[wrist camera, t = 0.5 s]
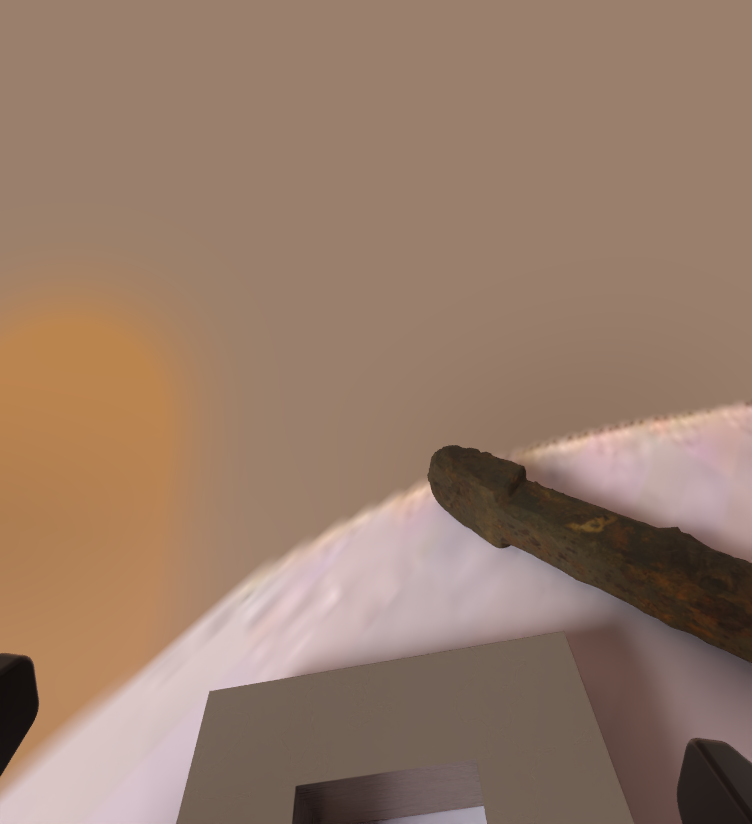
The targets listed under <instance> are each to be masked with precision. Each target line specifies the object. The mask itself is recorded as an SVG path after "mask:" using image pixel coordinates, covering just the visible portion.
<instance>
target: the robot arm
mask: <svg viewBox="0 0 752 824" xmlns="http://www.w3.org/2000/svg"><path fill="white" fill-rule="evenodd" d="M38 707H39V698H38V691H37V684H36V677H35V670H34V664H33V661H32V660H31V659H30V657H28V656H25V655H17V654H10V653H1V654H0V776H1V775H2V773H3V771H4V770H5V768H6V767H7V765H8V763H9V762H10V760H11V758H12V756H13V755H14V753H15V752H16V750H17V748H18V747H19V745H20V744H21V742H22V740H23V739H24V737H25V735H26V734H27V732H28V730H29V729H30V727H31V726H32V724H33V722H34V720H35V718H36V715H37V712H38ZM677 802H678V808H679V812H680V816H681V820H682V823H683V824H752V763H750V762H749V761H748V760H747V759H746V758H745V757H743V756H742V755H741V754H740V753H739V752H738V751H736V750H735V749H734V748H733V747H731V746H730V745H729V744H727V743H725V742H722V741H716V740H708V739H700V738H694V739H691V740H690V741H689V742H688V744H687V747H686V750H685V755H684V759H683V764H682V768H681V773H680V777H679V781H678V786H677Z"/></svg>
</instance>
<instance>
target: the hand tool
mask: <svg viewBox="0 0 752 824" xmlns="http://www.w3.org/2000/svg"><path fill="white" fill-rule="evenodd" d="M428 481H429V482H430V486H431V490H432V493H433V495H434V497H435V498H436V500H437V501H438V503H439V504H440V505H441V506H442V507H443V508H444V509H445V510H446V511H447V512H449V513H450V514H451V515H452V516H453V517H454V518H455V519H456V520H458V521H459V522H460V523H461V524H463V525H464V526H466V527H468V528H470V529H472V530H473V531H474V532H475V533H477V534H478V535H479V536H481V537H482V538H483V539H485V540H486V541H488V542H489V543H490V544H492V545H493V546H495V547H497V548H506V547H509V546H510V545H512V546H515V547H517V548H519V549H522V550H524V551H526V552H528V553H530V554H532V555H534V556H536V557H537V558H539V559H541V560H543V561H545V562H547V563H549V564H550V565H552V566H554V567H556V568H558V569H560V570H562V571H563V572H565V573H566V574H568V575H570V576H571V577H573V578H575V579H576V580H578V581H581V582H584V583H586V584H589V585H592V586H595V587H597V588H599V589H601V590H603V591H605V592H607V593H609V594H611V595H613V596H615V597H617V598H619V599H621V600H623V601H625V602H627V603H629V604H631V605H633V606H635V607H636V608H638V609H639V610H641V611H642V612H644V613H646V614H648V615H650V616H652V617H655V618H658V619H659V620H661V621H662V622H664V623H665V624H667V625H669V626H670V627H672V628H675V629H678V630H681V631H684V632H687V633H690V634H692V635H694V636H697V637H698V638H700V639H702V640H703V641H705V642H706V643H709V644H711V645H713V646H716V647H718V648H721V649H723V650H726V651H728V652H730V653H732V654H734V655H736V656H738V657H740V658H742V659H744V660H746V661H748V662H750V663H752V563H749V562H747V561H745V560H742V559H739V558H734V557H732V556H730V555H727V554H725V553H722V552H719V551H716V550H714V549H711V548H710V547H708V546H706V545H705V544H703V543H701V542H700V541H698V540H697V539H695V538H694V537H692V536H691V535H690V534H686V533H683V532H681V531H680V529H679V528H678V527H671V528H656V527H653V526H650V525H648V524H646V523H643V522H640V521H636V520H633V519H631V518H628V517H625V516H623V515H620V514H617V513H614V512H611V511H609V510H607V509H604V508H601V507H598V506H596V505H593V504H590V503H587V502H584V501H582V500H579V499H576V498H573V497H570V496H567V495H565V494H564V493H560V492H557V491H555V490H553V489H549V488H545V487H543V486H541V485H540V484H539V483H538V482H536V481H535V482H531V481H528V480H527V479H526V470H525V468H524V466H521V465H518V464H516V463H514V462H512V461H509V460H504V459H500V458H497V457H495V456H492V455H491V454H490V453H488V452H482V453H480V451H479V450H478V449H474V448H467V449H466V448H462V447H460V446H457V445H455V446H453V445H452V446H446V447H443V448H442V449H439V450H438V451H437V452H435V453H434V455H433V456H432V458H431V463H430V468H429V473H428Z"/></svg>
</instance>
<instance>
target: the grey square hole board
mask: <svg viewBox="0 0 752 824" xmlns="http://www.w3.org/2000/svg"><path fill="white" fill-rule="evenodd" d="M477 806H484V808H485V814H486V820H487V824H634V821H633V819H632V816H631V813H630V810H629V808H628V805H627V802H626V799H625V797H624V794H623V791H622V788H621V786H620V783H619V780H618V778H617V775H616V772H615V769H614V767H613V764H612V761H611V758H610V756H609V753H608V750H607V747H606V745H605V742H604V739H603V737H602V734H601V731H600V728H599V726H598V723H597V720H596V717H595V715H594V712H593V709H592V706H591V704H590V701H589V698H588V696H587V693H586V690H585V687H584V685H583V682H582V679H581V676H580V674H579V671H578V668H577V665H576V663H575V660H574V657H573V654H572V652H571V649H570V646H569V644H568V641H567V638H566V635H565V633H564V631H563V632H557V633H551V634H545V635H539V636H533V637H527V638H521V639H515V640H509V641H504V642H498V643H492V644H486V645H480V646H474V647H468V648H462V649H456V650H450V651H445V652H439V653H433V654H427V655H421V656H415V657H409V658H403V659H397V660H391V661H386V662H380V663H374V664H368V665H362V666H356V667H350V668H344V669H338V670H332V671H327V672H321V673H315V674H309V675H303V676H297V677H291V678H285V679H279V680H273V681H268V682H262V683H256V684H250V685H244V686H238V687H232V688H226V689H220V690H214V691H210V692H209V696H208V700H207V704H206V707H205V711H204V715H203V719H202V723H201V727H200V731H199V735H198V739H197V743H196V747H195V751H194V755H193V759H192V763H191V767H190V771H189V775H188V779H187V783H186V787H185V791H184V795H183V799H182V803H181V807H180V811H179V815H178V819H177V823H176V824H356V823H363V822H370V821H377V820H384V819H391V818H398V817H406V816H413V815H420V814H427V813H434V812H441V811H448V810H455V809H463V808H470V807H477Z"/></svg>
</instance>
